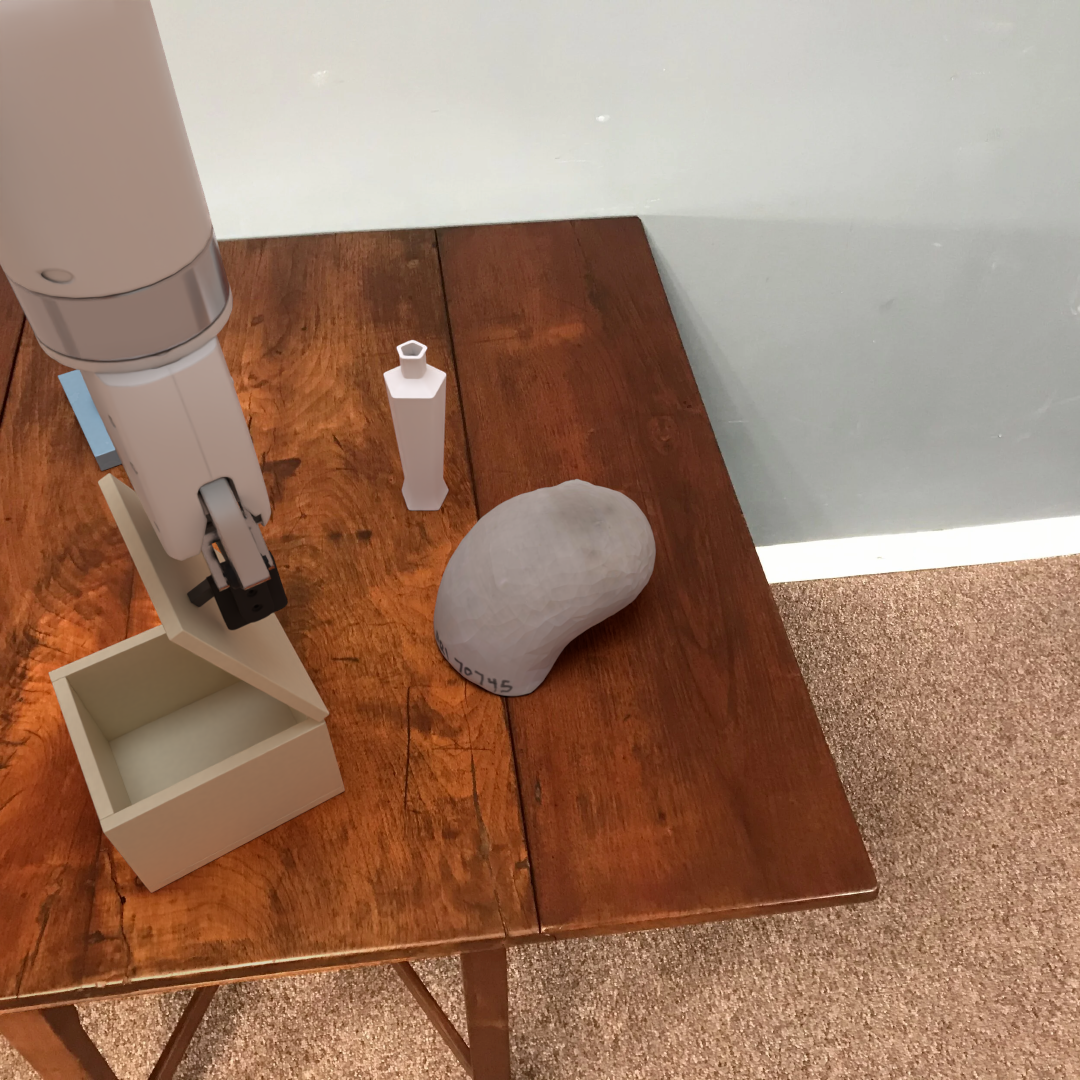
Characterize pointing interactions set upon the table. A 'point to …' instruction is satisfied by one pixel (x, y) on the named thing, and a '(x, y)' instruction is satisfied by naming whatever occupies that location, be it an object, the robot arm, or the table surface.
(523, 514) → the grey rounded lump
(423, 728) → the table surface
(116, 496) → the lid
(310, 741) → the chest
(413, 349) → the perfume bottle
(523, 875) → the table surface
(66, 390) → the box
